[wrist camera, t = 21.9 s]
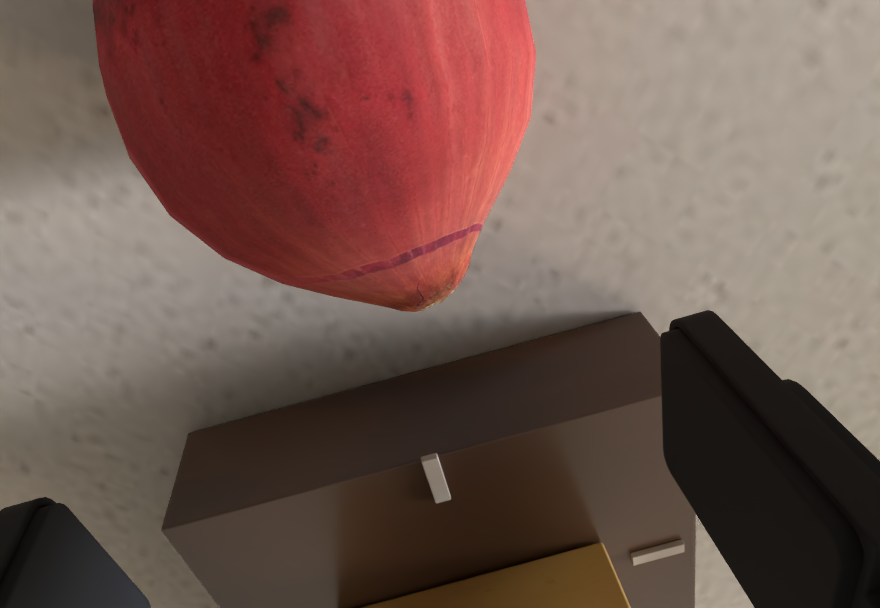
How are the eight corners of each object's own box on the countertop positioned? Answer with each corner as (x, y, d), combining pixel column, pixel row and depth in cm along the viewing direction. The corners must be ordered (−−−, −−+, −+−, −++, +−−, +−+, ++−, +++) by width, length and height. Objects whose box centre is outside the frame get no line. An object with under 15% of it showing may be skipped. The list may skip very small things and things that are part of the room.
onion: (473, 379, 6) (4, -689, 4) (184, 418, 9) (-113, -125, 8) (665, 202, 10) (471, -353, 8) (412, 278, 14) (247, -92, 12)
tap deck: (325, 651, 22) (324, 753, 19) (185, 430, 16) (156, 533, 13) (653, 562, 22) (697, 651, 19) (640, 307, 16) (702, 386, 13)
